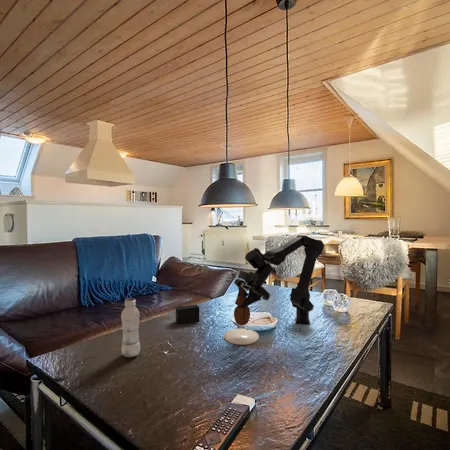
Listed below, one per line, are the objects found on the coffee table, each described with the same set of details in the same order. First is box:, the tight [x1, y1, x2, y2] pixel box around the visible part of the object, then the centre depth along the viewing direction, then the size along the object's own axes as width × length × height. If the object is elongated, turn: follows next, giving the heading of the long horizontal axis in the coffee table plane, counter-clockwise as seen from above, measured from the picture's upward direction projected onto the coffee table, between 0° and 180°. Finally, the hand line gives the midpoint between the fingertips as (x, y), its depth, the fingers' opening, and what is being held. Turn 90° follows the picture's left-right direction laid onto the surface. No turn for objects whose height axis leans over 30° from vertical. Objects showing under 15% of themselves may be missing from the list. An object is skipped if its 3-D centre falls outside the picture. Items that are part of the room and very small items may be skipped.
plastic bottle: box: [120, 298, 141, 358], centre depth 105 cm, size 6×7×20 cm
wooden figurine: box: [233, 289, 251, 326], centre depth 120 cm, size 7×6×15 cm
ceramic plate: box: [223, 327, 260, 346], centre depth 121 cm, size 14×14×1 cm
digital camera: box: [175, 304, 200, 326], centre depth 139 cm, size 10×5×7 cm, turn 113°
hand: (239, 305), depth 119 cm, fingers closed on wooden figurine, 5 cm apart
